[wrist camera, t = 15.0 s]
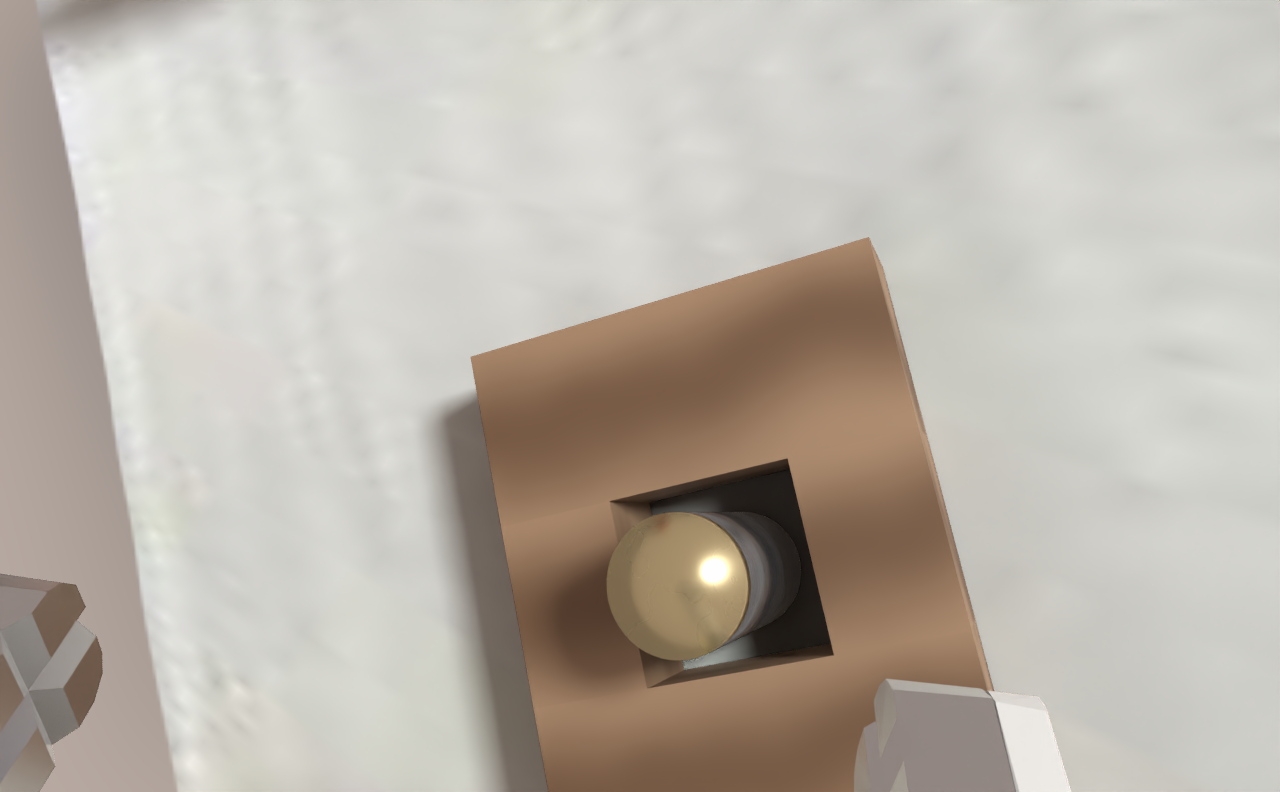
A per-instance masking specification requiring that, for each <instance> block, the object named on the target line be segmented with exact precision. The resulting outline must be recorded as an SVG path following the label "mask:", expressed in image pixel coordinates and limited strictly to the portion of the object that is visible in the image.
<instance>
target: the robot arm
mask: <svg viewBox="0 0 1280 792" xmlns="http://www.w3.org/2000/svg"><path fill="white" fill-rule="evenodd" d="M85 607H86V606H85V604H84V602H83V600H82V597H81V595H80V593H79V591H78V588H77V586H76V585H74V584H67V583H60V582H54V581H47V580H40V579H33V578H26V577H19V576H12V575H5V574H0V792H40V790H41V789H42V787H43V785H44V784H45V782H46V780H47V779H48V777H49V776H50V774H51V772H52V771H53V769H54V767H55V763H54V755H53V748H52V744H54V743H56V742H57V741H59V740H60V739H62V738H63V737H65V736H66V735H68V734H69V733H71V732H73V731H74V730H75V729H77V728H78V727H80V725H81V723H82V722H83V720H84V718H85V716H86V715H87V713H88V711H89V710H90V708H91V706H92V704H93V703H94V700H95V697H96V693H97V690H98V687H99V683H100V680H101V676H102V651H101V648H100V645H99V642H98V639H97V636H96V635H94V634H93V633H92V632H91V631H90V630H88V629H87V628H86V627H85V626H83V625H82V624H81V623H80V622H79V621H77V619H78V618H79V616H80V615H81V613H82V611H83V610H84V609H85ZM874 709H875V717H876V721H875V722H873V723H871V724H870V725H868V726H866V727H864V729H863V732H862V735H861V738H860V741H859V745H858V748H857V754H856V762H855V770H854V792H1071V789H1070V785H1069V782H1068V779H1067V775H1066V772H1065V768H1064V765H1063V762H1062V758H1061V755H1060V752H1059V748H1058V745H1057V742H1056V738H1055V735H1054V731H1053V728H1052V725H1051V721H1050V718H1049V715H1048V711H1047V708H1046V706H1045V705H1044V703H1043V702H1042V701H1041V699H1040V698H1039V697H1037V696H1031V695H1022V694H1013V693H1004V692H995V691H984V690H983V689H980V688H971V687H961V686H951V685H942V684H932V683H923V682H913V681H903V680H894V679H885V680H884V681H883V682H882V683H881V684H880V685H879V688H878V691H877V693H876V696H875V698H874Z"/></svg>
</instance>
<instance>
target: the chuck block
mask: <svg viewBox="0 0 1280 792" xmlns="http://www.w3.org/2000/svg"><path fill="white" fill-rule="evenodd" d="M471 362H472V368H473V373H474V379H475V384H476V390H477V396H478V401H479V407H480V412H481V418H482V424H483V429H484V435H485V440H486V446H487V451H488V457H489V463H490V468H491V474H492V479H493V485H494V490H495V496H496V502H497V507H498V513H499V518H500V524H501V530H502V535H503V541H504V546H505V552H506V557H507V563H508V569H509V574H510V580H511V585H512V591H513V597H514V602H515V608H516V613H517V619H518V624H519V630H520V636H521V641H522V647H523V652H524V658H525V664H526V669H527V675H528V680H529V686H530V691H531V697H532V703H533V708H534V714H535V719H536V725H537V731H538V736H539V742H540V747H541V753H542V758H543V764H544V770H545V775H546V781H547V786H548V792H854V770H855V762H856V754H857V748H858V745H859V741H860V738H861V735H862V732H863V729H864V727H866V726H868V725H870V724H871V723H873V722H875V721H876V717H875V709H874V698H875V696H876V693H877V691H878V688H879V685H880V684H881V683H882V682H883V681H884V680H885V679H894V680H903V681H913V682H923V683H932V684H942V685H951V686H961V687H971V688H980V689H983V690H984V691H994V689H993V685H992V682H991V678H990V674H989V670H988V666H987V663H986V659H985V655H984V651H983V647H982V643H981V640H980V636H979V632H978V628H977V624H976V621H975V617H974V613H973V609H972V605H971V602H970V598H969V594H968V590H967V586H966V583H965V579H964V575H963V571H962V567H961V564H960V560H959V556H958V552H957V548H956V544H955V541H954V537H953V533H952V529H951V525H950V522H949V518H948V514H947V510H946V506H945V503H944V499H943V495H942V491H941V487H940V484H939V480H938V476H937V472H936V468H935V464H934V461H933V457H932V453H931V449H930V445H929V442H928V438H927V434H926V430H925V426H924V423H923V419H922V415H921V411H920V407H919V404H918V400H917V396H916V392H915V388H914V384H913V381H912V377H911V373H910V369H909V365H908V362H907V358H906V354H905V350H904V346H903V343H902V339H901V335H900V331H899V327H898V324H897V320H896V316H895V312H894V308H893V305H892V301H891V297H890V293H889V289H888V285H887V282H886V278H885V274H884V270H883V267H882V265H881V262H880V260H879V258H878V256H877V254H876V252H875V250H874V247H873V245H872V243H871V241H870V239H869V237H868V238H865V239H861V240H858V241H855V242H851V243H848V244H845V245H841V246H838V247H835V248H831V249H828V250H825V251H821V252H818V253H815V254H811V255H808V256H805V257H801V258H798V259H795V260H791V261H788V262H785V263H781V264H778V265H775V266H771V267H768V268H765V269H761V270H758V271H755V272H752V273H748V274H745V275H742V276H738V277H735V278H732V279H728V280H725V281H722V282H718V283H715V284H712V285H708V286H705V287H702V288H698V289H695V290H692V291H688V292H685V293H682V294H678V295H675V296H672V297H668V298H665V299H662V300H658V301H655V302H652V303H648V304H645V305H642V306H638V307H635V308H632V309H628V310H625V311H622V312H618V313H615V314H612V315H609V316H605V317H602V318H599V319H595V320H592V321H589V322H585V323H582V324H579V325H575V326H572V327H569V328H565V329H562V330H559V331H555V332H552V333H549V334H545V335H542V336H539V337H535V338H532V339H529V340H525V341H522V342H519V343H515V344H512V345H509V346H505V347H502V348H499V349H495V350H492V351H489V352H485V353H482V354H479V355H476V356H472V357H471ZM788 469H790V470H791V475H792V479H793V483H794V487H795V492H796V496H797V500H798V505H799V509H800V513H801V517H802V522H803V526H804V530H805V534H806V539H807V543H808V547H809V551H810V556H811V560H812V564H813V568H814V573H815V577H816V581H817V585H818V590H819V594H820V598H821V602H822V607H823V611H824V615H825V619H826V624H827V628H828V632H829V636H830V641H831V643H830V644H825V645H819V646H814V647H808V648H803V649H797V650H792V651H786V652H781V653H775V654H770V655H764V656H759V657H753V658H748V659H742V660H737V661H731V662H726V663H720V664H715V665H709V666H704V667H698V668H692V669H687V670H684V667H683V662H682V660H681V661H679V660H667V659H662V658H659V657H656V656H653V655H651V654H649V653H647V652H645V651H643V650H642V649H640V648H638V647H637V646H636V645H635V644H633V643H632V642H631V641H630V640H629V639H628V638H627V637H626V636H625V634H624V633H623V632H622V630H621V629H620V628H619V626H618V624H617V623H616V621H615V619H614V617H613V614H612V612H611V609H610V605H609V602H608V596H607V572H608V567H609V563H610V560H611V557H612V554H613V552H614V550H615V548H616V546H617V545H618V543H619V542H620V540H621V539H622V537H623V536H624V535H625V534H626V533H627V532H628V531H629V530H630V529H631V528H632V527H634V526H635V525H636V524H638V523H639V522H641V521H642V520H644V519H647V518H649V517H651V516H652V513H651V508H650V503H649V502H653V501H657V500H661V499H665V498H670V497H674V496H678V495H682V494H687V493H691V492H695V491H699V490H703V489H708V488H712V487H716V486H720V485H725V484H729V483H733V482H737V481H741V480H746V479H750V478H754V477H758V476H763V475H767V474H771V473H775V472H779V471H784V470H788Z"/></svg>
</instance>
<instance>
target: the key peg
mask: <svg viewBox="0 0 1280 792" xmlns="http://www.w3.org/2000/svg"><path fill="white" fill-rule="evenodd" d="M800 581H801V563H800V557H799V554H798V551H797V548H796V546H795V544H794V542H793V541H792V539H791V537H790V536H789V535H788V533H787V532H786V531H785V530H784V529H783V528H782V527H781V526H780V525H779V524H777V523H776V522H775V521H773V520H771V519H770V518H768V517H766V516H763V515H761V514H757V513H752V512H668V513H662V514H658V515H654V516H651V517H649V518H647V519H644V520H642V521H641V522H639V523H638V524H636V525H635V526H634V527H632V528H631V529H630V530H629V531H628V532H627V533H626V534H625V535H624V536H623V537H622V539H621V540H620V542H619V543H618V545H617V546H616V548H615V550H614V552H613V554H612V557H611V560H610V563H609V567H608V572H607V596H608V602H609V605H610V609H611V612H612V614H613V617H614V619H615V621H616V623H617V624H618V626H619V628H620V629H621V630H622V632H623V633H624V634H625V636H626V637H627V638H628V639H629V640H630V641H631V642H632V643H633V644H635V645H636V646H637V647H638V648H640V649H642V650H643V651H645V652H647V653H649V654H651V655H653V656H656V657H659V658H662V659H667V660H679V661H681V660H690V659H694V658H698V657H701V656H703V655H705V654H708V653H710V652H712V651H714V650H716V649H718V648H720V647H722V646H724V645H726V644H728V643H730V642H732V641H734V640H736V639H738V638H740V637H742V636H744V635H746V634H748V633H750V632H753V631H755V630H757V629H759V628H761V627H763V626H765V625H767V624H769V623H771V622H773V621H774V620H776V619H777V618H779V617H780V616H781V615H783V614H784V613H785V611H786V610H787V609H788V608H789V607H790V605H791V604H792V603H793V601H794V599H795V597H796V595H797V592H798V590H799V586H800Z"/></svg>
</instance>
